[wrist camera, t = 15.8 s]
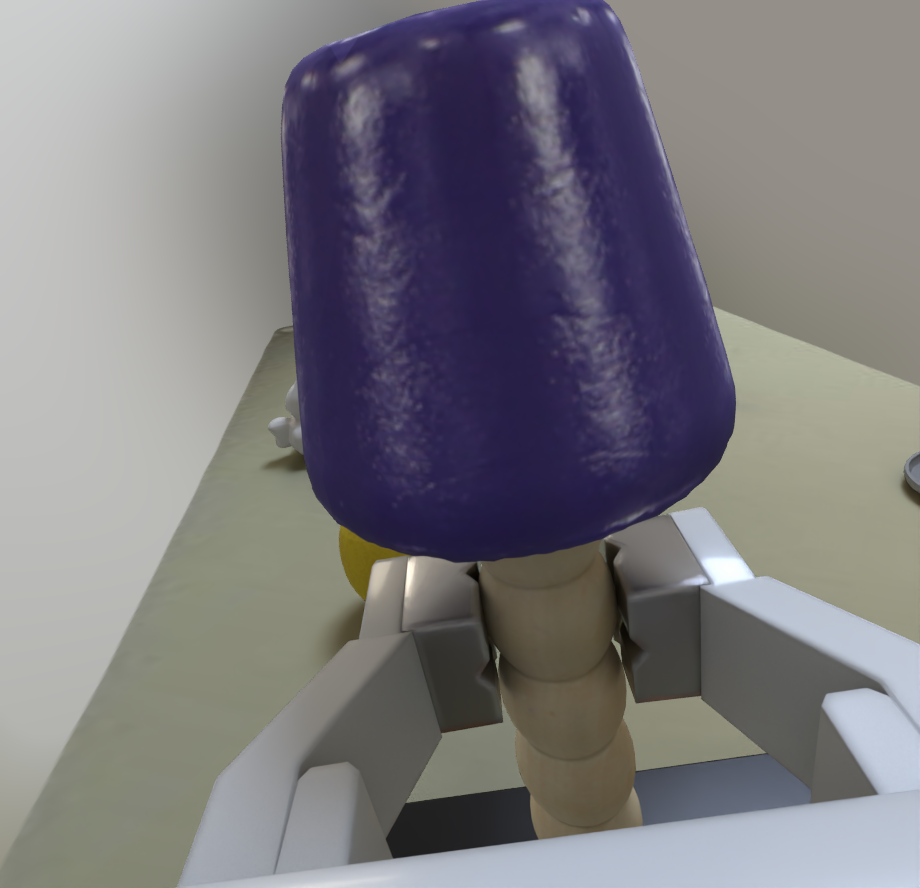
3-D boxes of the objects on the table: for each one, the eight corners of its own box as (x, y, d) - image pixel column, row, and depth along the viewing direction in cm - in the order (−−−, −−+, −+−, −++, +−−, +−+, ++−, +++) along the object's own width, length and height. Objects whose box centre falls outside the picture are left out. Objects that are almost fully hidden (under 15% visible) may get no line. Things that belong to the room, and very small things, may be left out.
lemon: (372, 578, 38) (337, 466, 34) (460, 570, 37) (434, 455, 34) (350, 645, 33) (307, 523, 30) (451, 638, 32) (419, 511, 29)
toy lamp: (583, 1236, 10) (261, -64, 3) (442, 952, 14) (147, 100, 6) (777, 1018, 12) (912, -86, 4) (606, 821, 15) (526, 51, 8)
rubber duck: (349, 457, 54) (323, 372, 50) (275, 473, 54) (244, 389, 50) (352, 432, 59) (328, 353, 55) (284, 446, 59) (256, 368, 55)
